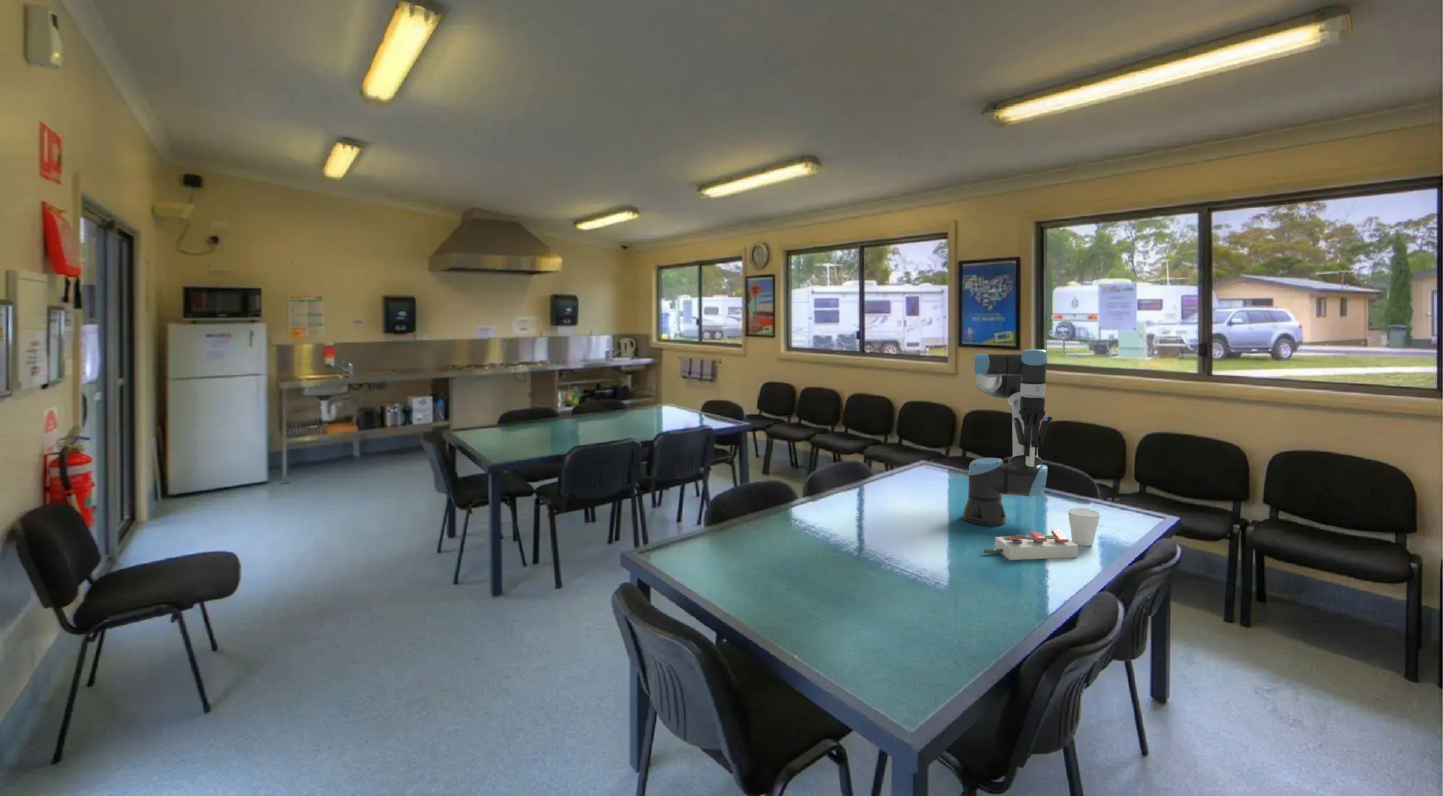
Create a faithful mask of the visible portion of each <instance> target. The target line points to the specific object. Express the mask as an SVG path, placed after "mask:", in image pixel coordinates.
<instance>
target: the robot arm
mask: <svg viewBox="0 0 1443 796" xmlns="http://www.w3.org/2000/svg"><path fill="white" fill-rule="evenodd" d="M1047 356H1048V353H1047V351H1046V350H1045V349H1037V348H1036V349H1031V348H1030V349H1024V350H1022V352H1021V353H986V352H985V353H977V354H975V355H974V361H973V362H974V363H973V369H974V370H973V374H975V376H976V377H975V386H976V387H977V389H978V391H980V392H981V393H983V394H985V395H986V396H988V397H991V398H994V399H1007V403H1008V404H1009V405H1010V406H1011V412H1012V413H1011V414H1012V415H1011V423H1012V424H1011V425H1012V456H1011V457H1010V458H1008V461H1007V463H1005V462H1004V461H1003V459H1002V458H999V457H982V458H977V459H974V460H972V461H971V462H970V463H969V465H968V472H967V474H968V486H967V487H968V490H967V491H968V493H967V501H966V503H965V505H964V508H963V511H962V520H964V521H965V522H967V523H969V524H973V525H978V526H986V527H987V526H988V527H991V526H994V527H995V526H1001V525H1005V523H1006V522H1007V515H1006V512H1005V509H1004V506H1003V502H1002V497H1003V496H1002V495H1007V496H1008V495H1009V496H1019V497H1020V496H1021V497H1029V498H1032V497H1038V498H1039V497H1042V496H1043V495H1044V493H1045V490H1046V484H1047V477H1048V465H1046V464H1044V463H1043V459H1041V457H1039V454H1038V453H1039V452H1038V448H1039V447H1040V446H1043V445H1044V444H1045V443H1044V442H1045V438H1046V436H1047V432H1048V429H1049V425H1050V423H1051V421H1052V420H1053V417H1052V416H1050V415H1048V414H1046V411H1045V407H1046V398H1045V395H1046V386H1047V385H1046V383H1047V382H1046V380H1047V379H1046V377H1047V362H1048V359H1047V358H1048V357H1047Z"/></svg>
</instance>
